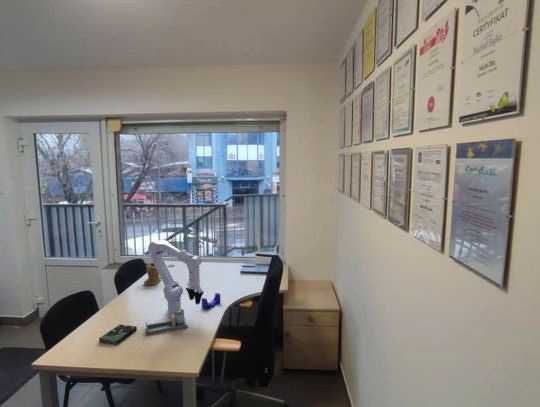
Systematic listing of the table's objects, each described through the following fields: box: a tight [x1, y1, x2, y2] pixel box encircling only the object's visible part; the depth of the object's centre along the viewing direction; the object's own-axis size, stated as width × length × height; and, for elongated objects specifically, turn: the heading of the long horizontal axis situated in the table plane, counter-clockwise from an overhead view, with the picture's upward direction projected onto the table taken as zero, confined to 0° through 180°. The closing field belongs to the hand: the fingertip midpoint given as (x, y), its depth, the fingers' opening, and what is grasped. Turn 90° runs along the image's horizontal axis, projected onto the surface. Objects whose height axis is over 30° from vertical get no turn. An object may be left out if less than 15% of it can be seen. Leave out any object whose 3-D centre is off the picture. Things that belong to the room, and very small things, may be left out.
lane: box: [144, 320, 189, 337], centre depth 166 cm, size 8×21×3 cm, turn 114°
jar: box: [174, 308, 186, 326], centre depth 168 cm, size 5×5×7 cm
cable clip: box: [201, 292, 221, 310], centre depth 194 cm, size 12×4×6 cm, turn 140°
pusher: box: [171, 314, 175, 326], centre depth 167 cm, size 6×1×5 cm, turn 24°
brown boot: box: [143, 261, 162, 286], centre depth 234 cm, size 15×12×15 cm
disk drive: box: [98, 323, 138, 346], centre depth 157 cm, size 10×3×15 cm
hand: (194, 301), depth 177 cm, fingers open, 7 cm apart
